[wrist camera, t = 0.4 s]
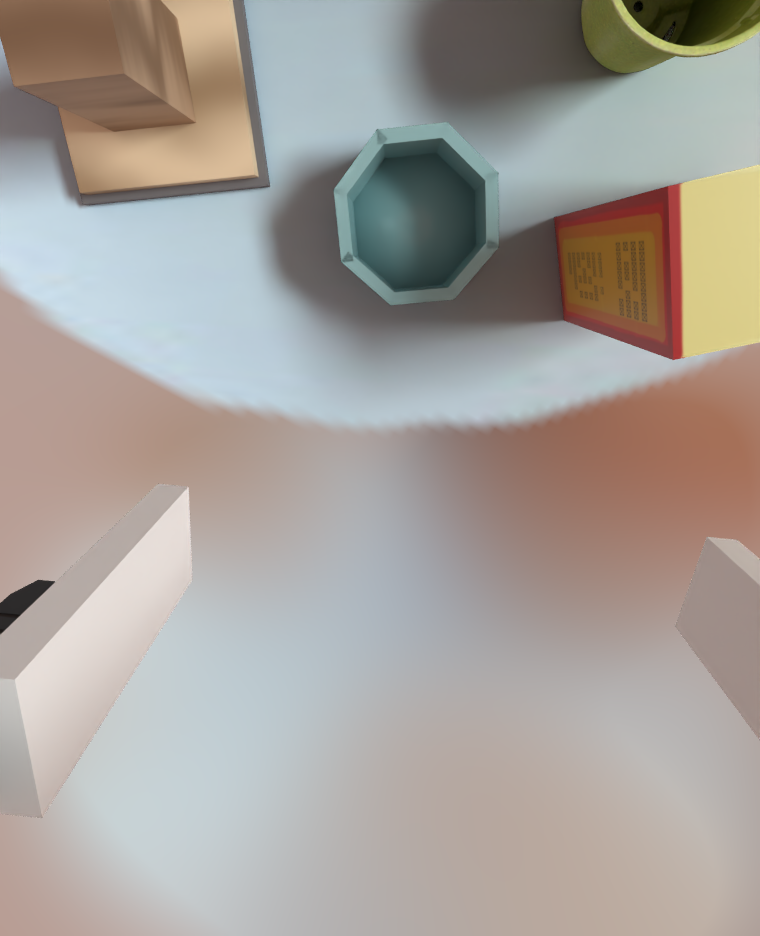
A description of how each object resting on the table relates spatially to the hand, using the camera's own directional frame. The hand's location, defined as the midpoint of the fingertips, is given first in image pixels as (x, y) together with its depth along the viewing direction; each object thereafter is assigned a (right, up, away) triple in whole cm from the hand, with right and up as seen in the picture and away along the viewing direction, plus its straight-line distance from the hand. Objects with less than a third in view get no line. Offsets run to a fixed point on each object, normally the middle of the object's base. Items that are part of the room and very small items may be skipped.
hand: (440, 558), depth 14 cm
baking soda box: (+15, +16, +22) cm, 31 cm away
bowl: (+1, +18, +21) cm, 28 cm away
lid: (-15, +25, +18) cm, 35 cm away
